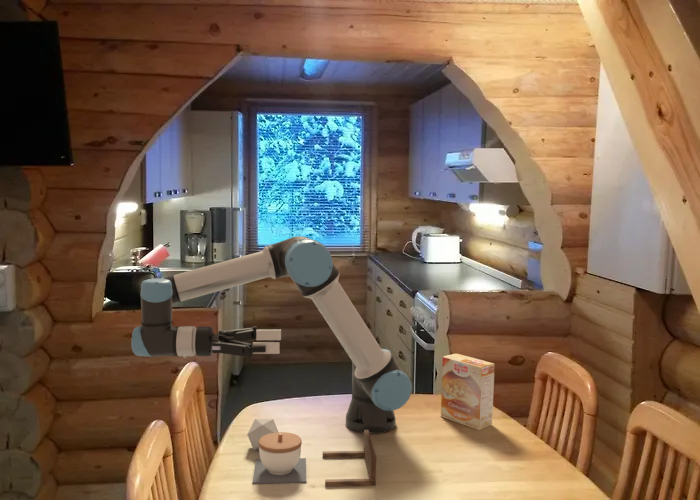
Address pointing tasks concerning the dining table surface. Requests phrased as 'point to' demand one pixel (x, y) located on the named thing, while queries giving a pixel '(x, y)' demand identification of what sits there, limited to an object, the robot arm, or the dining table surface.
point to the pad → (294, 476)
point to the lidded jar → (280, 452)
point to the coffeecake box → (467, 391)
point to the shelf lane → (367, 454)
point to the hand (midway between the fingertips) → (280, 341)
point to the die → (261, 431)
